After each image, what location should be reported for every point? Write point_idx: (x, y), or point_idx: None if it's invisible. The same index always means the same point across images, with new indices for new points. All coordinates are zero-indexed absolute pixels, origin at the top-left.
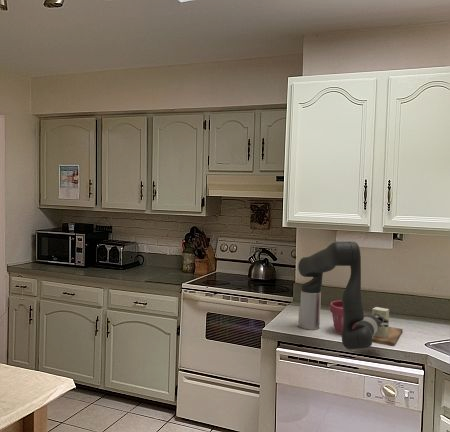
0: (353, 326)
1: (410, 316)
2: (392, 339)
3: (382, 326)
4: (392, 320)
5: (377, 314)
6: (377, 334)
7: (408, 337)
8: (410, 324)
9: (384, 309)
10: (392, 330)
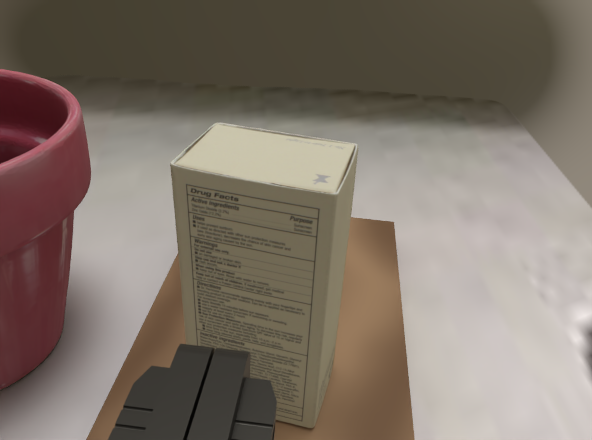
0: (12, 331)
1: (374, 101)
2: (381, 429)
3: (291, 343)
4: None
5: (227, 407)
6: None
7: (449, 299)
8: (398, 155)
9: (311, 158)
10: None
